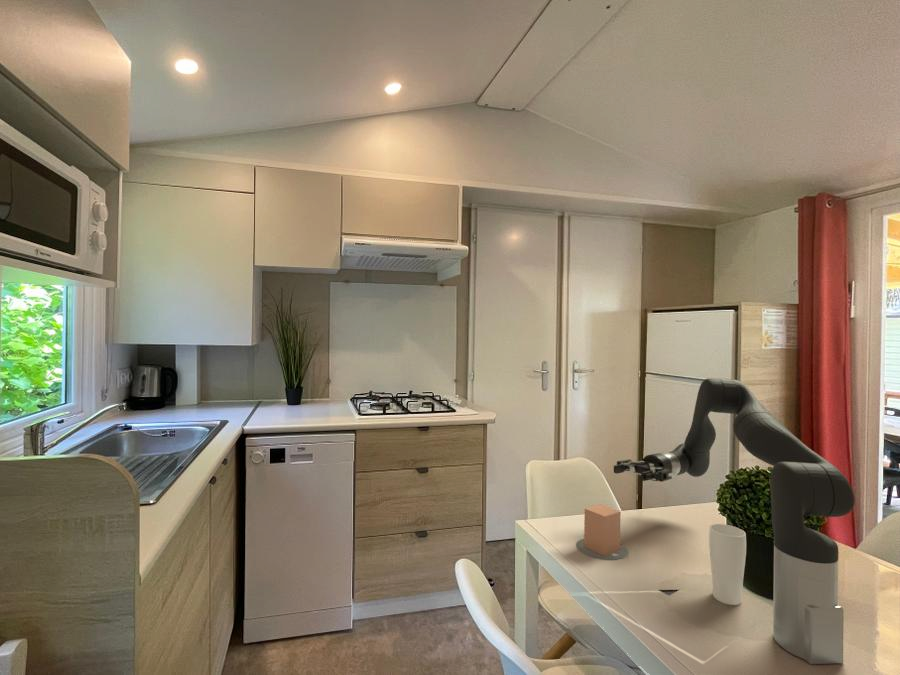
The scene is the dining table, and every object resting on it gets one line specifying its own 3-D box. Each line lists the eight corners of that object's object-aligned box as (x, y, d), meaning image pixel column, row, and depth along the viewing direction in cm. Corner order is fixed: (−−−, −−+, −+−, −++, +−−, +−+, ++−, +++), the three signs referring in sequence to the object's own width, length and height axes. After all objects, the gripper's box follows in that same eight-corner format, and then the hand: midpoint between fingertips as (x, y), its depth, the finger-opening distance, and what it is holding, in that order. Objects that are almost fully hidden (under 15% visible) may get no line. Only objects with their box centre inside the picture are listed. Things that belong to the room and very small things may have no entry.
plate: (637, 563, 112) (637, 559, 112) (586, 563, 111) (586, 560, 111) (614, 540, 125) (614, 537, 125) (569, 540, 124) (569, 537, 124)
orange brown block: (620, 550, 117) (620, 511, 117) (604, 556, 114) (604, 516, 114) (599, 540, 122) (600, 504, 123) (584, 546, 119) (584, 508, 119)
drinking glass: (751, 611, 92) (752, 538, 92) (715, 606, 94) (716, 534, 94) (737, 593, 99) (738, 525, 99) (703, 589, 100) (704, 522, 100)
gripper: (639, 448, 139) (606, 454, 130) (684, 458, 127) (652, 465, 118) (639, 473, 139) (606, 480, 130) (684, 484, 127) (652, 493, 118)
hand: (628, 473), depth 124 cm, fingers open, 8 cm apart
